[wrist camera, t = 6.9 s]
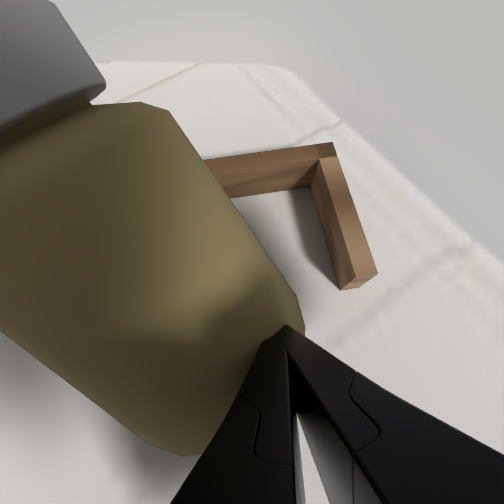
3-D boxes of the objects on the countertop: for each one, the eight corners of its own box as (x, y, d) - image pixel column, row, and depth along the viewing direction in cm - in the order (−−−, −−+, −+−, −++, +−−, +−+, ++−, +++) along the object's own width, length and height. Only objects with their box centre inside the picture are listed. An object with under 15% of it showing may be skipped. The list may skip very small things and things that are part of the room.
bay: (358, 287, 17) (378, 273, 14) (132, 323, 17) (106, 316, 14) (322, 171, 20) (332, 141, 18) (133, 198, 20) (113, 172, 17)
